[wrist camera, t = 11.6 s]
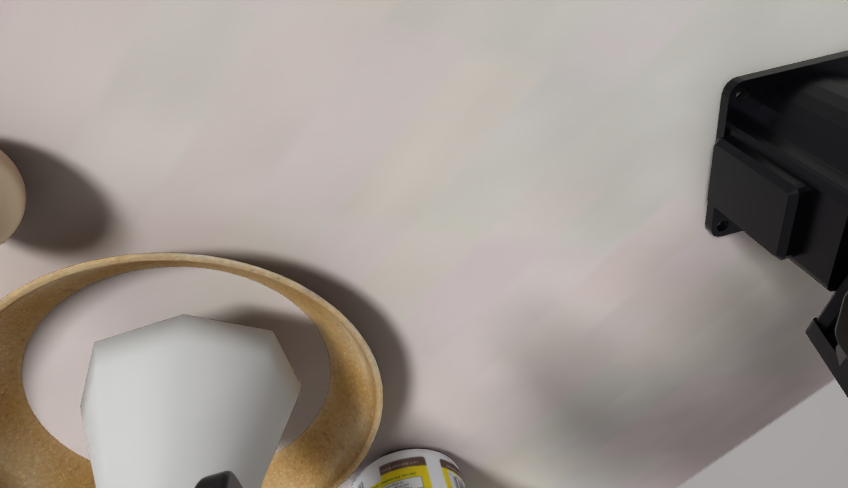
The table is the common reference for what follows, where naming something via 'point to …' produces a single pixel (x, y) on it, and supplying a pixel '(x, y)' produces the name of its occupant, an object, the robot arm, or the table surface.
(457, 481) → the supplement bottle
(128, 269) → the plant saucer
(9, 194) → the beige ball
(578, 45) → the table surface
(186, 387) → the flask
